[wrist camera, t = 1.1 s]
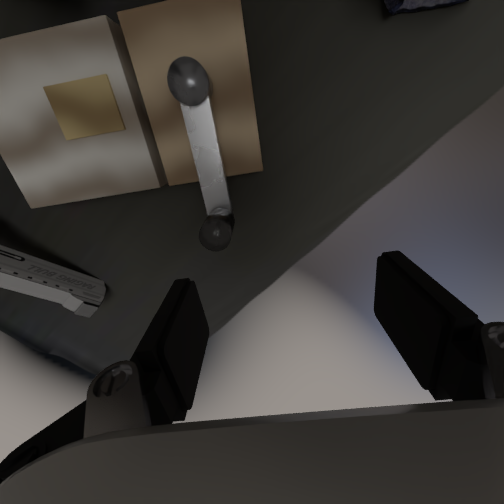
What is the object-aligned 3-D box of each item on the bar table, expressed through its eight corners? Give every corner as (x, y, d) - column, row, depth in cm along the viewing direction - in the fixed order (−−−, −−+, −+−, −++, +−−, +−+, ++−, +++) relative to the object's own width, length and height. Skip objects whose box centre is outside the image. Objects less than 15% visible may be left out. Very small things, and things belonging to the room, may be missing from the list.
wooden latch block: (-7, 65, 25) (-62, 51, 21) (241, 10, 23) (237, -19, 19) (60, 198, 31) (29, 209, 27) (262, 165, 29) (263, 170, 25)
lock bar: (172, 68, 21) (143, 46, 16) (208, 61, 21) (191, 36, 15) (211, 229, 28) (200, 253, 22) (239, 225, 27) (235, 248, 22)
